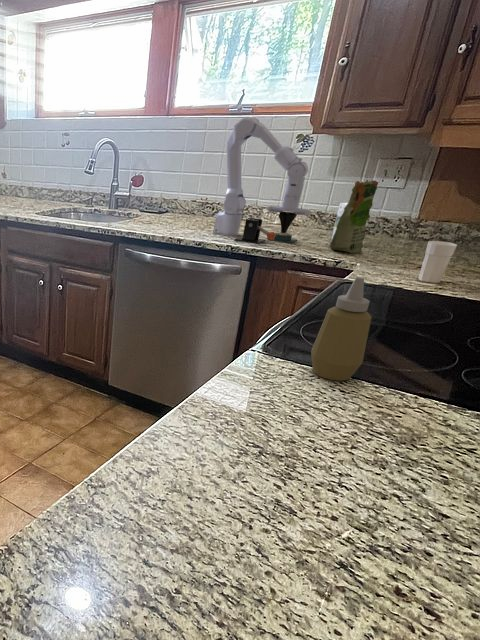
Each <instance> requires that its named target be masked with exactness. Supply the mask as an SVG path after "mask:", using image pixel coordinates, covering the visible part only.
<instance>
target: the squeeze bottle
mask: <svg viewBox="0 0 480 640" xmlns="http://www.w3.org/2000/svg"><path fill="white" fill-rule="evenodd" d="M364 288H365V278H364V277H361V276H356V277H355V278H354V280H353V282H352V283H351V285H350V287H349V289H348V290H347V292H346V293H345V294H341V295H338V296H337V299H336V303H335V306H332V307H330V308H328V309H327V312H326V314H325V316H324V319H323V321H322V324H321V326H320V329H319V331H318V333H317V335H316V339H315V341H314V343H313V346H312V348H311V351H310V356H311V366H312V367H311V368H312V372H313V373H314V374H315V375H317V376H318V377H320V378H324V379H327V380H332V381H339V382H345V381H348V380H350V379H351V378H352V377H353V375H354V374H355V373H356V372H357V371H358V370H359V368H360V367H361V366H362V365H363V363H364V358H365V353H366V347H367V342H368V337H369V333H370V326H371V322H372V315H371V314H370V312H368V309H369V305H370V300H369V299H367V298H365V297H364V290H365V289H364Z"/></svg>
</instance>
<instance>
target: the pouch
mask: <svg viewBox="0 0 480 640" xmlns="http://www.w3.org/2000/svg"><path fill="white" fill-rule="evenodd" d="M378 184H379V181H376V180H368V179H366V180H365V181H359V180H357V181H355V182H354V186H353V187H352V189H351V194H350V197H349V199H348V202H347V203H348V204H347V205H346V207H345V208H344V212H343V214H342V216H341V217H340V219H339V222H338V224H337V228H336V231H335V234H334V236H333V239H332V240H331V241H330V244H329V246H328V247H329V248H330V249H331V250H332V251H333V250H334V251H341V252H344V253H345V252H346V253H349V254H351V255H358V254H361V253H362V252H363V248H364V244H363V243H364V242H363V241H364V240H365V236H366V233H367V229H366V224H367V221H368V220H369V219H370V218H371V216H370V212H371V210H372V209H371V208H372V207H373V205H374V204H373V201H374V197H375V195H376V191H377V190H378Z"/></svg>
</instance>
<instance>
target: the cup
mask: <svg viewBox="0 0 480 640" xmlns="http://www.w3.org/2000/svg"><path fill="white" fill-rule="evenodd" d="M457 246H458V244H457V243H453V242H449V241H442V240H441V241H440V240H429V241H427V245H426V248H425V251H424V252H425V254H424V257H423V260H422V264H421V268H420V271H419V275H418V278H417V280H419V281H421V282H425V283H432V284H433V283H434V284H438V283H441V281H442V278H443V277H444V274H445V272H446V270H447V268H448V266H449V263H450V262H451V258H452V257H453V255H454V253H455V251H456V249H457Z"/></svg>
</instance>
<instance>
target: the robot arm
mask: <svg viewBox="0 0 480 640" xmlns="http://www.w3.org/2000/svg"><path fill="white" fill-rule="evenodd" d="M251 137H253V138H258V139H260V140H261V141H262V142H263V143H264V144H265V145H266V146H267V147H268V148H269V149H270V150H271V151H272V152H273V153H274V160H275V161H276V162H277V163H278V164H279V165H280V166H281V168H282V169H284V170H285V171H287V176H288V178H287V183H286V185H285V189H284V194H283V198H282V202H281V206H274V205H269V206H268V207H267V212H268V213H279V214H278V219H279V222H280V232H281V233H286V232H287V233H288V230H289V227H290V226H291V224H292V223H293V221H294V220H295V219H296V218H297V216H306V217H309V216H311V211H312V210H311V209H305V208H304V209H303V208H299V206H300V202H301V197H302V193H303V189H304V185H305V184H304V183H305V179H306V178H305V176H307V174H308V173H309V165H308V164H307V162H305V161H303V158H302V157H299V156H298V155H297V154H296V153H295V152H294V151H295V149H294V148H293V147H290V146H288V145H287V146H286V145H285V146H283V144H281V143H280V141H279V140H278V139H277V138H276V137H275V136H274V134H273V133H272V131H270V130H269V128H268V127H267V126H266V125H265V124H264V123H262V122H261V121H260V120H259V118H257V117H242V118H241V119H240V120H238V121H237V123H236V124H234V125H233V129H232V131H231V133H230V135H229V137H228V139H227V140H226V179H227V180H226V181H227V183H226V185H227V189H226V193H225V197H224V198H225V199H224V202H223V204H222V208H223V211H220V212H217V214H216V216H215V219H214V224H213V230H212V234H214V235H215V234H216V235H221V236H230V237H236V236H239V233H240V227H241V222H242V217H243V210H244V209H245V206H246V205H247V201H246V198H245V196H244V190H243V188H242V145H244V143H245V142H247V140H248V139H249V138H251Z"/></svg>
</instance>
